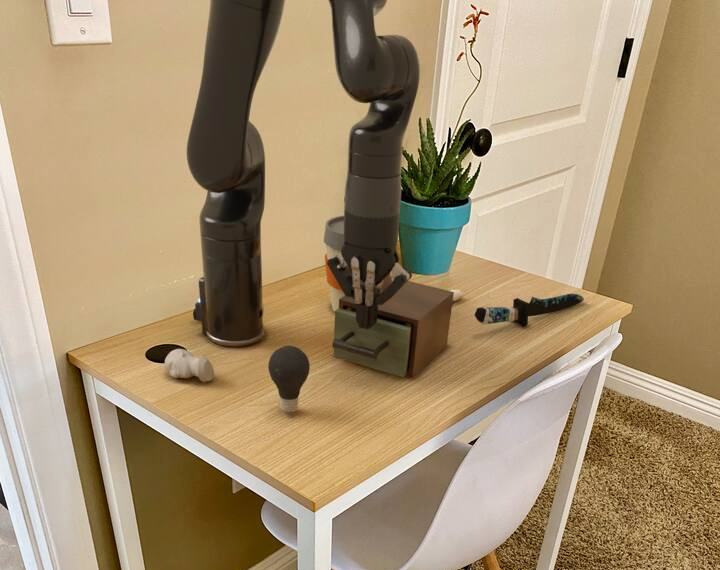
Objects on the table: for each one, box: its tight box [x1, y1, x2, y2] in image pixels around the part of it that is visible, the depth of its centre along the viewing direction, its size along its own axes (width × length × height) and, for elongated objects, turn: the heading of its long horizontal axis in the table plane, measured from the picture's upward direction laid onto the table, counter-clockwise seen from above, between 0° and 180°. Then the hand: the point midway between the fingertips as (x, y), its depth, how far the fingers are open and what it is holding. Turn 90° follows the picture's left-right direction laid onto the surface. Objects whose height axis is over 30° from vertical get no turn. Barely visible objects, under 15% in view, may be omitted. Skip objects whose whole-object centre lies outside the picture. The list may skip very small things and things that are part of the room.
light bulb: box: [267, 345, 311, 414], centre depth 103 cm, size 6×6×10 cm
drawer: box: [331, 307, 413, 378], centre depth 117 cm, size 18×12×8 cm
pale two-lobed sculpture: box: [164, 348, 215, 383], centre depth 112 cm, size 4×8×5 cm
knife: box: [474, 293, 585, 327], centre depth 136 cm, size 31×3×4 cm, turn 125°
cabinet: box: [339, 275, 454, 379], centre depth 121 cm, size 14×14×10 cm
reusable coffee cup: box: [323, 215, 392, 313], centre depth 133 cm, size 12×13×15 cm
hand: (365, 326), depth 111 cm, fingers closed
